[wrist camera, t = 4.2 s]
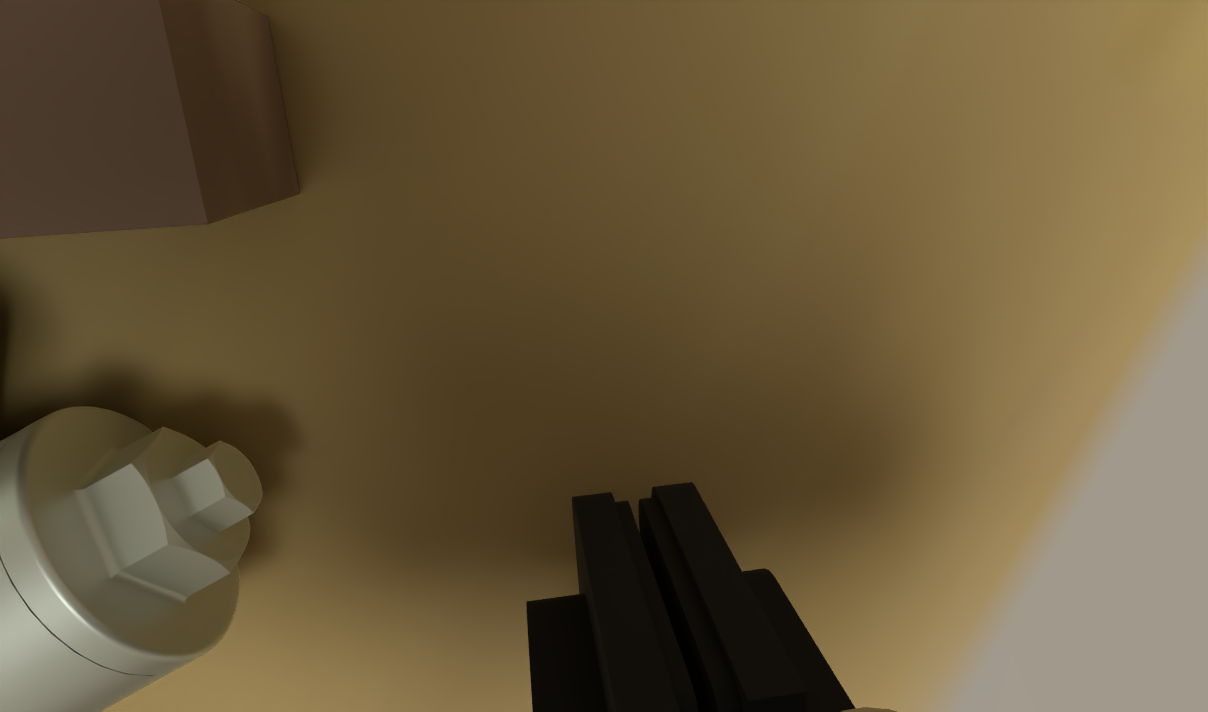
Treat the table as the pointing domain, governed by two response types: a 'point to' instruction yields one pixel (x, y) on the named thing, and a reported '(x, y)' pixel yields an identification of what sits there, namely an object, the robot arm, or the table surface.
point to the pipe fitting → (113, 556)
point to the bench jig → (137, 115)
